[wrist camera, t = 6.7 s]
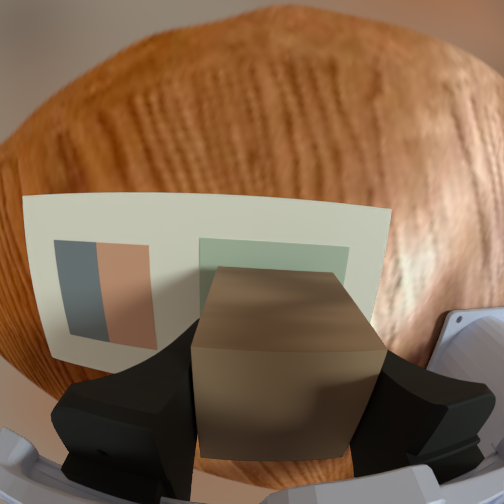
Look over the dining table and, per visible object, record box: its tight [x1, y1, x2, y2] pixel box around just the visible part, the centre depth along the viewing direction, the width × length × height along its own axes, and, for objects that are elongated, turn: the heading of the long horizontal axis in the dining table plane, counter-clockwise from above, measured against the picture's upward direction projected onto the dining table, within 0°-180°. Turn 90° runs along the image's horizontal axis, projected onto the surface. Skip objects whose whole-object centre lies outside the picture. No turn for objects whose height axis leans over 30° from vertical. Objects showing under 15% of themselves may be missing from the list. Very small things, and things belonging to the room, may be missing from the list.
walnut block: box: [191, 266, 388, 461], centre depth 10 cm, size 5×5×6 cm
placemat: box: [23, 192, 392, 374], centre depth 14 cm, size 20×11×1 cm, turn 87°
